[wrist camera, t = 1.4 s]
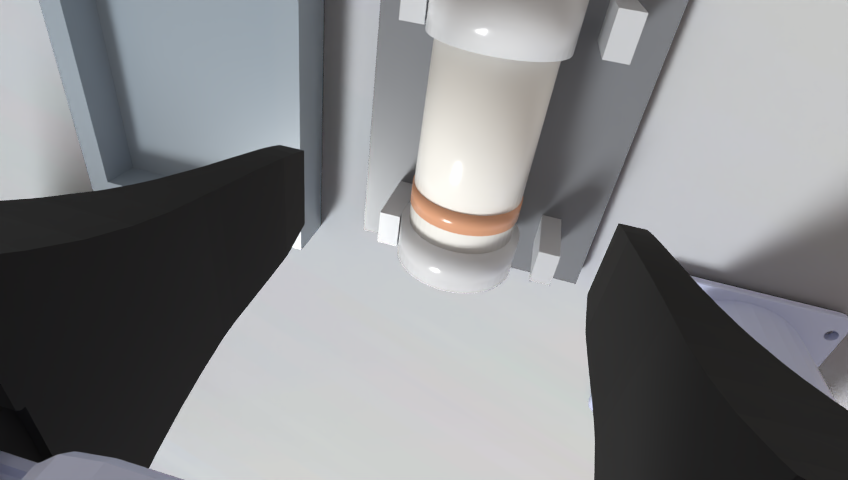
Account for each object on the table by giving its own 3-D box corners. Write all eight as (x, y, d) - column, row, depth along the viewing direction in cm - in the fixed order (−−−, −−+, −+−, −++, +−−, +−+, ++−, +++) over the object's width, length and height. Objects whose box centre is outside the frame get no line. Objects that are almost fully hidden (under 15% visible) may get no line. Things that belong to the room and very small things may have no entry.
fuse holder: (575, 273, 23) (576, 325, 20) (368, 221, 24) (341, 263, 21) (702, -52, 15) (733, -45, 12) (395, -102, 17) (357, -106, 14)
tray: (320, 226, 25) (301, 250, 23) (126, 176, 26) (94, 195, 24) (326, -150, 16) (296, -159, 15) (39, -194, 18) (-20, -207, 16)
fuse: (522, 246, 21) (490, 309, 18) (425, 212, 22) (376, 265, 19) (599, -10, 16) (576, 6, 12) (464, -37, 17) (405, -29, 13)
